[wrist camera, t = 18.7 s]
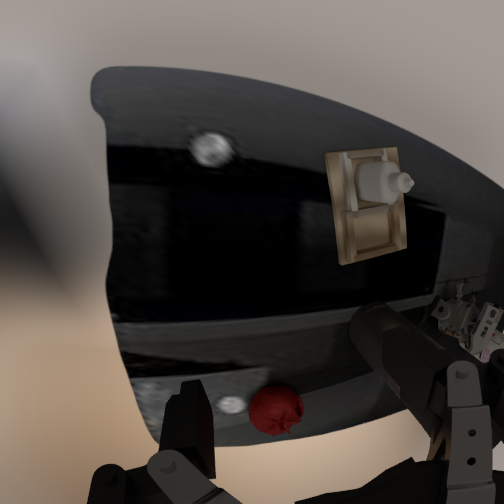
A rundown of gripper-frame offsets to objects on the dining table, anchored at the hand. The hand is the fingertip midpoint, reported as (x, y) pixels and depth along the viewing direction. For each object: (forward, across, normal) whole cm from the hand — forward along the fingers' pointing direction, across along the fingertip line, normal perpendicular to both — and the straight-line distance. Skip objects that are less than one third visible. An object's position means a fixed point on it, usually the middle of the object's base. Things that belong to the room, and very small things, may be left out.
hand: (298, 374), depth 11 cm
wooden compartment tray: (+30, -21, -2) cm, 37 cm away
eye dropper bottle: (+29, -20, -5) cm, 36 cm away
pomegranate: (+30, 0, +31) cm, 43 cm away
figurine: (+30, -40, +22) cm, 55 cm away
